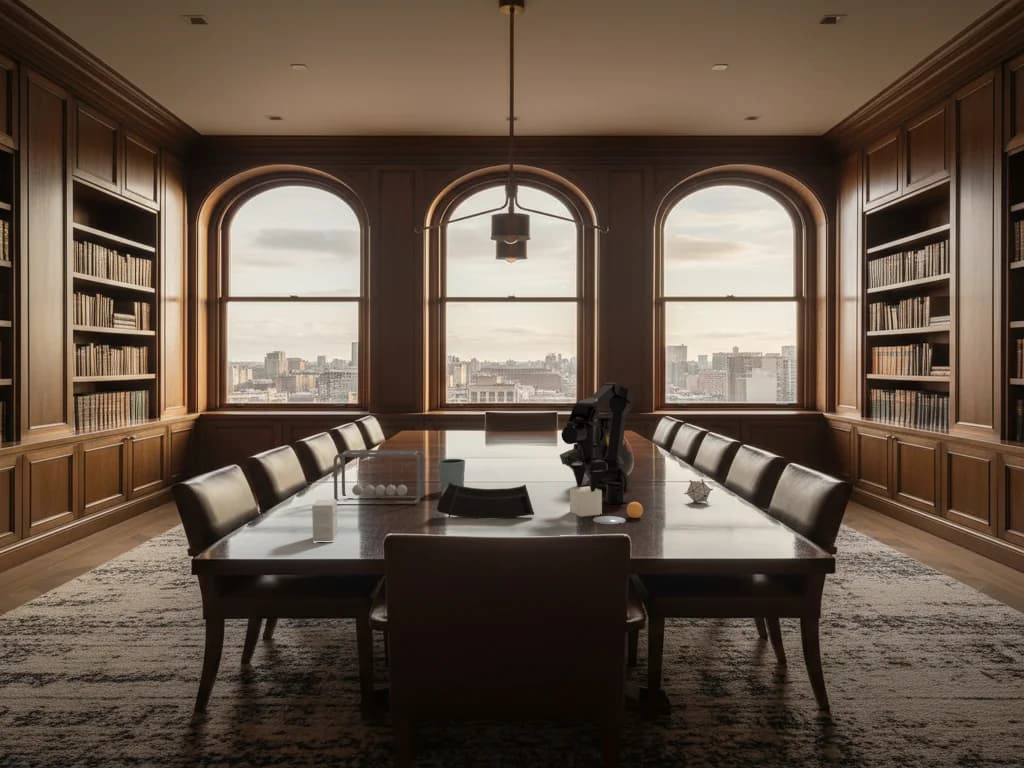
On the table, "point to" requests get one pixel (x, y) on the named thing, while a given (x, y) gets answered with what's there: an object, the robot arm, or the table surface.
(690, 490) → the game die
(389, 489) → the newton's cradle
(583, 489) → the block
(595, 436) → the amphora vase
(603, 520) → the disc
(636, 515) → the ball
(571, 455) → the robot arm
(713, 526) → the table surface
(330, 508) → the small box
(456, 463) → the green cup
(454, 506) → the curved black tray
